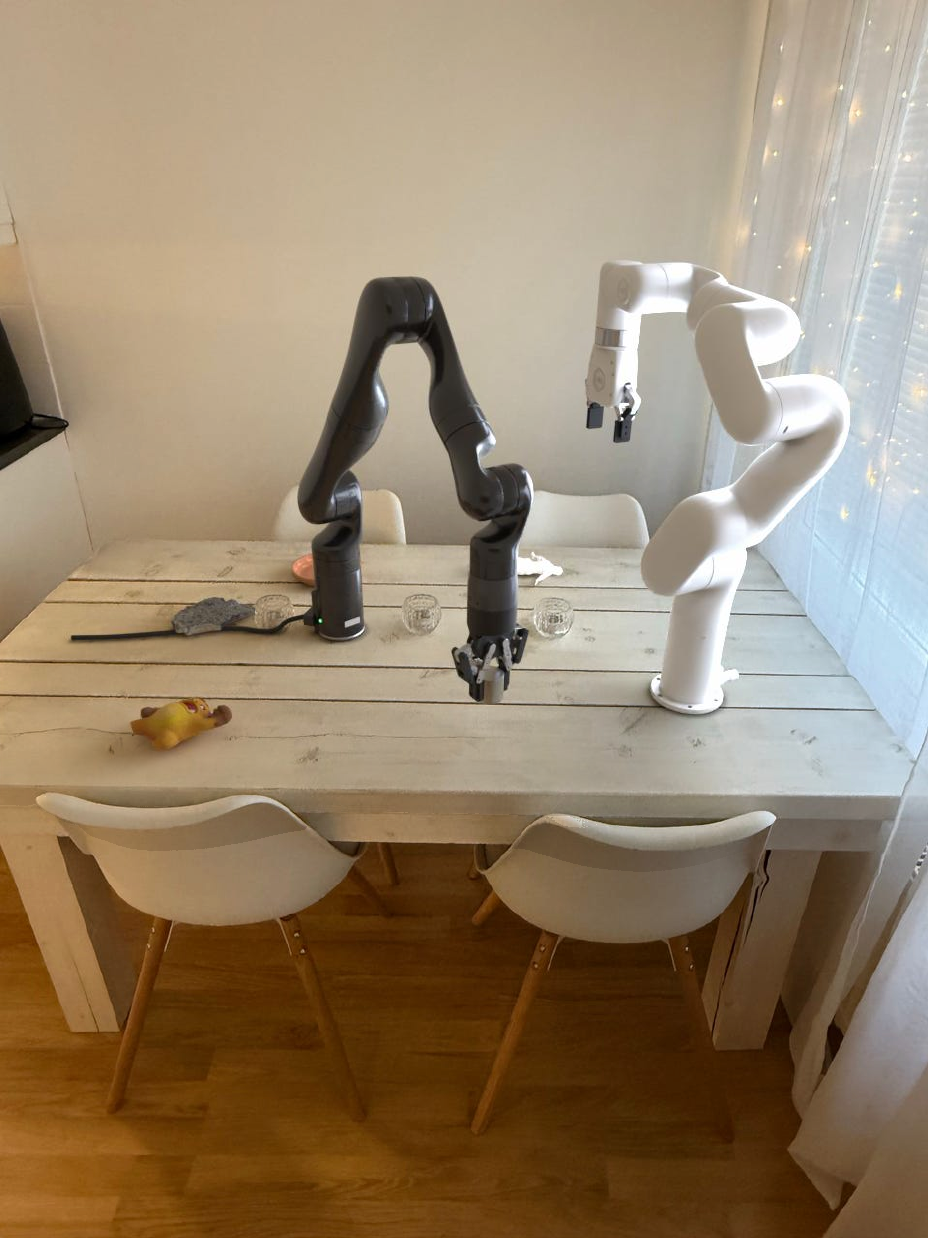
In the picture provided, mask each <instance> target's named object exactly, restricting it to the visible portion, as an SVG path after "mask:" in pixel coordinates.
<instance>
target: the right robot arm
mask: <svg viewBox="0 0 928 1238" xmlns="http://www.w3.org/2000/svg"><path fill="white" fill-rule="evenodd" d="M597 294H598V295H597V297H598V298H597V307H596V317H595V318H596V320H595V329H594V343H593V345H592V347H591V352H590V356H589V362H588V368H587V375H586V378H584V384H585V396H586V407H587V409H586V410H587V411H586V421H585V423H586V424H585V428H586V429H587V430H594V429H601V428H602V427H603V424H604V423H603V422H604V412H605V408H607V409H612V408H614V412H615V415H616V419H615V420H614V427H613V437H612V442H613V443H615V444H620V443H628V442H630V441H631V434H632V425H633V421H634V420H635V416H636V415H637V413H638V409H639V407H640V405H641V402H642V401H641V397H640V396H639V394H638V393H637V390H636V389H637V381H638V380H637V378H638V350H637V349H638V346H639V339H640V338H639V336H640V327H641V319H642V315H646V314H656V313H658V314H659V313H669V312H670V313H673V312H675V313H676V312H681V313H686V314H685V324H686V329H687V331H688V333H689V334H690V336H691V337H692V338H694V350H695V354H696V359H697V362H698V364H699V368H700V371H701V374H702V376H703V379H704V382H705V384H706V387H707V390H708V392H709V394H710V397H711V401H712V403H713V406H714V409H715V412H716V414H717V417H718V419H719V421H720V424H721V426H722V429H723V430H724V432H725V433H726V434H727V436H728V437H729V438H730V439H731V440H732V441H734V442H735V443H738V444H739V445H742V446H748V447H749V446H750V447H752V446H753V447H754V446H762V445H767V444H773V445H771V446H769V448H767V449H766V450H764V451H763V452H762V453H760V454H759V455H758V456H757V457H756V458H755V459H754V460H753V461H752V462H751V463H750V465H748V467H747V469H746V470H745V471H744V473H742V475H741V476H740V477H739V478H738V479H737V480H736V481H735V482H734V483H732V484H731V485H728V486H725V487H723V488H718V489H713V490H710V491H704V492H700V493H697V494H693V495H691V496H689V497H687V498H685V499H683V500H682V501H681V502H679V503H677V505H676V506H675V507H674V508H673V509H672V510H671V512H670V513H669V514H668V515H667V517H666V518H665V519H664V521H663V522H662V524H661V525H660V526H659V528H658V529H657V530H656V532H655V533H654V534H653V535H652V537H650V539H649V541H648V543H647V544H646V545H645V548H644V550H643V552H642V555H641V558H640V563H639V564H640V565H639V568H640V569H639V571H640V577H641V580H642V583H643V584H644V586H645V588H646V589H648V590H649V591H650V592H651V593H653V594H655V595H657V596H659V597H660V596H661V597H673V599H672V602H671V607H670V612H669V619H668V625H667V633H666V639H665V645H664V646H665V647H664V652H663V660H662V666H661V673H660V674H657V675H656V676H655V677H654V678H653V679H652V681H651V683H650V687H649V692H650V695H651V697H652V698H653V699H654V700H655V701H656V702H657V703H658V704H660V705H661V706H662V707H664V708H666V709H668V710H672V711H674V712H678V713H681V714H686V715H702V714H708V713H711V712H713V711H715V710H717V709H719V707H720V706H721V705H722V703H723V699H724V691H723V689H722V687H721V686H724V684H725V683H730V682H734V681H738V680H739V676H740V675H739V672H738V671H737V670H736V669H731V670H727V671H725V672H724V667H723V666H722V665H721V661H722V655H723V650H724V649H723V648H724V643H725V640H726V639H725V638H726V633H727V629H728V628H727V627H728V625H729V618H730V614H731V609H732V605H733V600H734V596H735V594H736V591H737V589H738V586H739V584H740V581H741V578H742V576H743V574H744V571H745V568H746V562H747V550H746V548H750V547H752V546H755V545H757V544H758V543H760V542H762V541H763V540H764V539H765V538H766V537H767V535H768V534H770V532H772V530H773V529H774V528H775V527H776V526H777V524H778V523H780V521H781V520H782V519H783V518H784V517H785V516H786V515H787V514H788V513H789V512H790V511H791V510H792V509H793V507H794V506H795V505H796V504H797V503H798V502H799V500H800V499H801V498H802V497H803V496H804V495H805V494H806V493H807V492H808V491H809V490H810V489H811V488H812V487H813V486H814V485H815V484H816V483H817V482H818V481H819V480H820V479H821V478H822V477H823V476H824V475H825V474H826V472H827V471H828V470H829V469H830V468H831V467H832V465H833V464H834V463H835V462H836V460H837V458H838V457H839V455H840V453H841V452H842V449H843V447H844V445H845V442H846V440H847V437H848V434H849V428H850V420H851V417H850V416H851V415H850V413H851V411H850V404H849V401H848V400H849V399H848V396H847V394H846V392H845V391H844V389H843V387H842V386H841V385H840V384H839V383H837V381H835V380H833V379H832V378H829V377H826V376H824V375H823V376H822V375H817V374H795V375H787V376H786V375H785V376H779V377H771V378H763V379H762V376H761V374H760V371H759V368H758V366H764V365H769V364H773V363H776V362H778V361H780V360H782V359H783V358H785V357H786V356H787V355H788V354H790V353H791V352H792V351H793V349H795V347H796V345H797V343H798V341H799V338H800V335H801V324H800V320H799V317H798V316H797V314H796V313H795V311H793V309H792V308H791V307H789V306H787V305H786V304H784V303H782V302H780V301H778V300H775V299H773V298H769V297H766V296H763V295H761V294H758V293H755V292H752V291H749V290H746V289H743V288H740V287H737V286H734V285H731V284H729V283H728V282H727V280H726V278H724V276H723V275H722V274H721V273H720V272H718V271H715V270H713V269H710V268H708V267H707V268H706V267H704V266H701V265H698V264H694V263H691V262H690V263H689V262H682V261H681V262H679V261H676V262H674V261H673V262H671V261H670V262H651V263H642V262H641V261H637V260H631V259H626V260H625V259H614V260H613V259H612V260H608V261H605V262H604V263H603V264H602V265H601V268H600V272H599V283H598V293H597ZM622 409H624V411H623V410H622Z"/></svg>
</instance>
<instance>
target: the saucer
mask: <svg viewBox="0 0 928 1238" xmlns="http://www.w3.org/2000/svg"><path fill="white" fill-rule="evenodd" d="M361 566H362V563H361ZM290 572H291V575H292V576H293V577H294V578H295V579H297V580H298V581H299V582H301V583H302V584H304V585H306V586H308V587H312V588H313V587H314V588H315V582H314V570H313V559H312V552H311V553H308V554H305V555H302V556H300V557H298V558H296V559H294V561H293V562H292V563H291V565H290Z"/></svg>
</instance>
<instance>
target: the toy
mask: <svg viewBox="0 0 928 1238" xmlns="http://www.w3.org/2000/svg"><path fill="white" fill-rule="evenodd" d="M140 717H141V718H139V719H134V720H131V721H130V722H129V724H130V728H131V731H132V732H133V734H136V735H138V736H144V737H146V738H147V739H149V740H150V741H151V742H152V743H151V746H152V749H153V750H154V751H166V750H170V749H172V748H174V747H176V746H177V745H178V744H180V743H181V742H183V741H184V742H185V741H186V740H190V739H192V738H194V737H196V736H198V735H199V734H200V733H202V732H204V731H210V730H214V729H217V728H220V727H222V726H224V725H227V724H228V723H230V722H231V720H232V718H233V712H232V710H231V708H230V706H227V705H225V704H219V705H217V706H216V708H214V709H213V711H212V712H211V707H210V706H209V704H208V703H207V701H206V700H205V699H203V698H201V697H196V698H195V697H188V698H186V699H181V700H179V701H175V702H171V703H167V704H165V705H163V706H160V707H159V706H158V707H155V706H154V707H151V706H145V707H142V708H141V709H140Z"/></svg>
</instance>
